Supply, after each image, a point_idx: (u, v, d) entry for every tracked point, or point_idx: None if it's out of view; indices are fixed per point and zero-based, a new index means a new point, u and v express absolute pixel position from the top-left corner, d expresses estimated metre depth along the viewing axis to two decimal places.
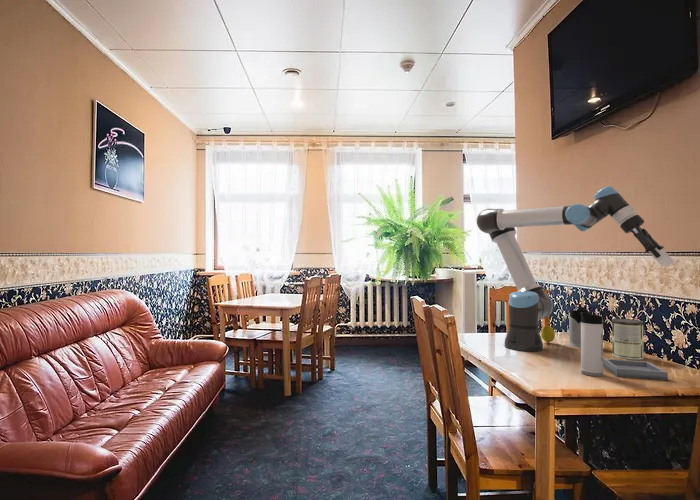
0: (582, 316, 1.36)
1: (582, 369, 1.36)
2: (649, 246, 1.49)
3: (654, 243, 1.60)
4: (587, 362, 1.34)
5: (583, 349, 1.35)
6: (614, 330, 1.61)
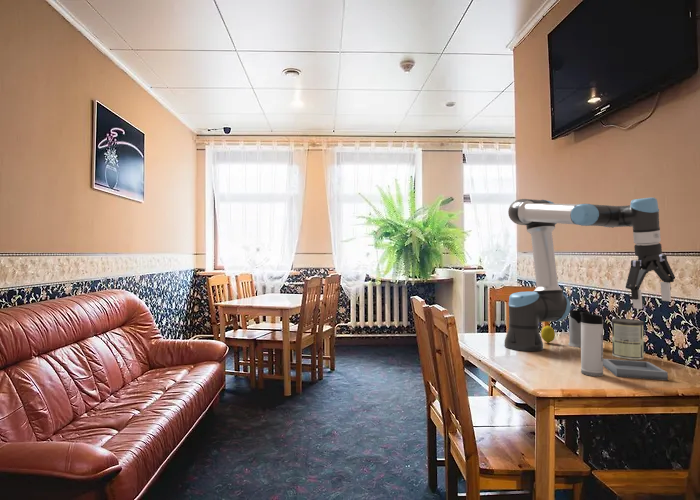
0: (582, 316, 1.36)
1: (582, 369, 1.36)
2: (629, 287, 1.39)
3: (662, 275, 1.43)
4: (587, 362, 1.34)
5: (583, 349, 1.35)
6: (614, 330, 1.61)
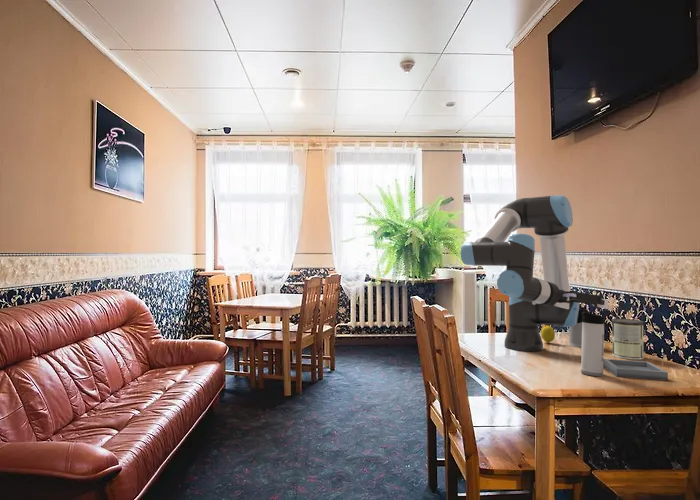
0: (583, 316, 1.36)
1: (582, 369, 1.36)
2: None
3: None
4: (588, 362, 1.34)
5: (584, 349, 1.35)
6: (614, 330, 1.61)
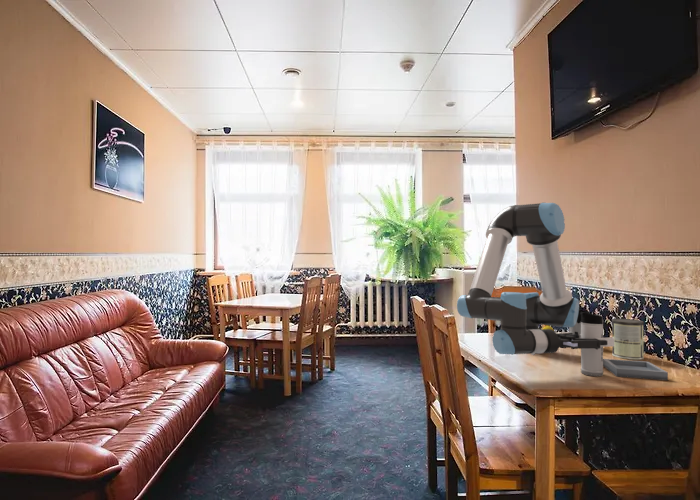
0: (582, 316, 1.36)
1: (582, 369, 1.36)
2: None
3: None
4: (587, 362, 1.34)
5: (583, 349, 1.35)
6: (614, 330, 1.61)
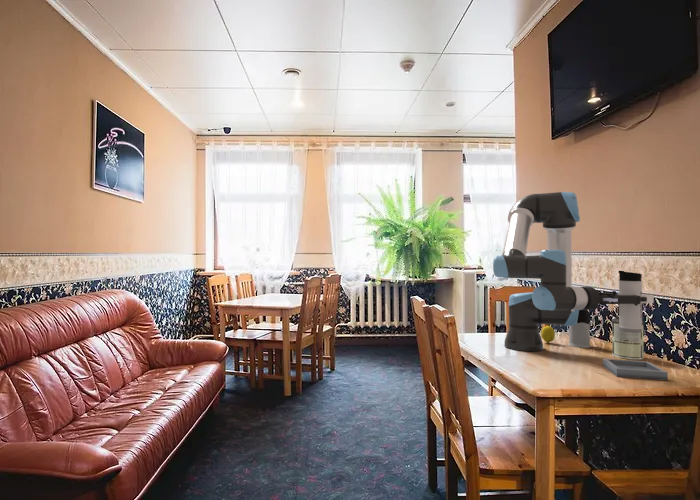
0: (620, 274, 1.38)
1: (621, 326, 1.38)
2: None
3: None
4: (626, 319, 1.36)
5: (622, 306, 1.37)
6: (614, 330, 1.61)
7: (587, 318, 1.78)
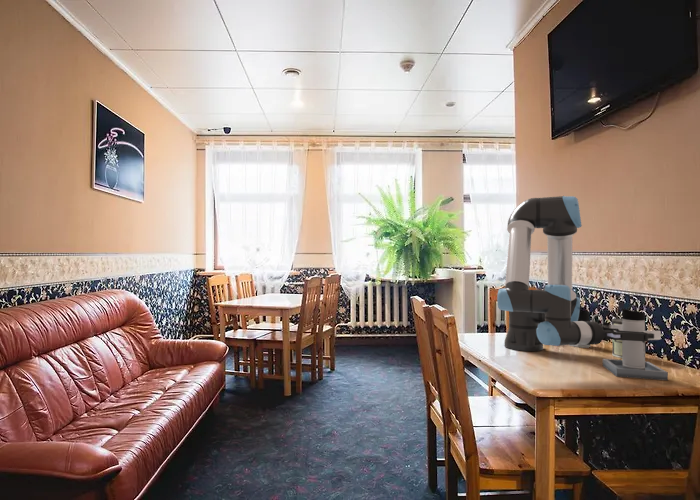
0: (624, 313, 1.38)
1: (624, 365, 1.38)
2: None
3: None
4: (630, 358, 1.36)
5: (625, 345, 1.37)
6: None
7: (587, 318, 1.78)
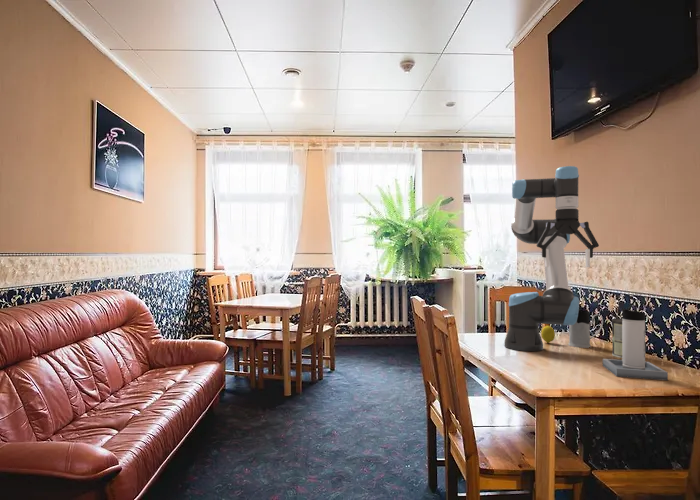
0: (624, 313, 1.38)
1: (624, 365, 1.38)
2: (537, 245, 1.55)
3: (582, 241, 1.50)
4: (630, 358, 1.36)
5: (626, 345, 1.37)
6: (614, 330, 1.61)
7: (587, 318, 1.78)
